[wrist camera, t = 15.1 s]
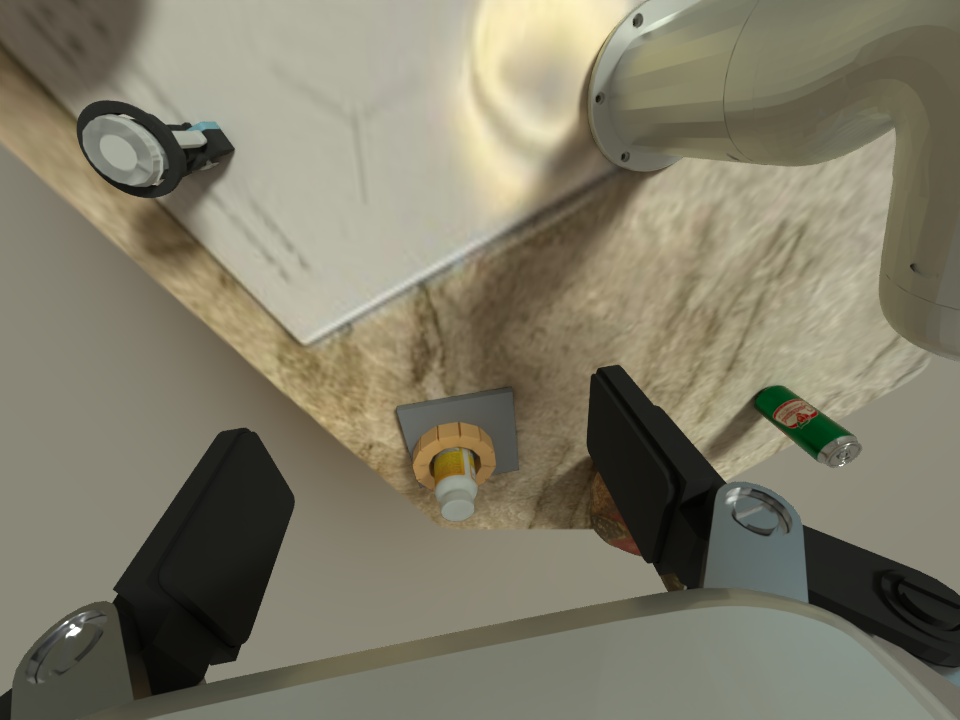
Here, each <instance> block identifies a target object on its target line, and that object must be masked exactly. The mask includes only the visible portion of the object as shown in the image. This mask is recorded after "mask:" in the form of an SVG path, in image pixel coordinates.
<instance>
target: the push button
mask: <svg viewBox="0 0 960 720" xmlns="http://www.w3.org/2000/svg"><path fill="white" fill-rule="evenodd" d="M121 114H125V115H128V116H131V117H133V118H135V119H127V118H125V117H121V116H118V115H121ZM77 137H78V141H79V144H80V147H81V150H82V152H83V154H84V156H85V157H86V159H87V160H88V162H89V163H90V165H91V166H92V167H93V168H94V170H95V171H96V172H97V173H98V174H99V175H100V176H101V177H102V178H103V179H105V180H106V181H107V182H108V183H110V184H111V185H113V186H114V187H116V188H117V189H119V190H121V191H123V192H125V193H128V194H130V195H134V196H137V197H143V198H156V197H160V196H164V195H166V194H168V193H170V192H171V191H173V190H174V189H175V188H176V187H177V185H178V183H179V182H180V180H181V179H182V177H184V176H186V175H188V174H190V173H192V171H194V170H198V169H200V170H206V169H210V168H212V167H214V166H215V165H217V164H219V162H214V163H211V162H210V160H209V159H211V158H213V157H217V156H221V155H225V154H228V153H230V152H231V151H233V150H234V149H235V148H234V147H233V146H232V144H231V143H230V142H229V140H228V139H227V137H226V136H225V135H224V133H223V132H222V131H221V129H220V128H219V127H218V125H217V124H216V122H200V123H198V124H196V125H194V126H193V127H192V126H191V124H190V123H183V124H182V125H165V124H164V123H163V122H162V121H160V120H159V119H158V118H157V117H155V116H154V115H152V114H148V113H146V112H144V111H142V110H141V109H139V108H137V107H135V106H132V105H130V104H127V103H124V102H119V101H109V100H106V101H98V102H94V103H92V104H90V105H88V106H87V107H86V108H85V109H84V110H83V111H82V112H81V114H80V116H79V118H78V122H77ZM161 179H165V180H164V181H163V182H162V183H161V184H160V185H158V186H156V185H152V184H154V183H156V182H157V181H158V180H161Z"/></svg>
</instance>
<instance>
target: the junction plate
mask: <svg viewBox="0 0 960 720" xmlns="http://www.w3.org/2000/svg"><path fill="white" fill-rule="evenodd" d="M397 414H398V417H399V420H400V423H401V427H402V430H403V433H404V437H405V440H406V443H407V446H408V450H409V453H410V456H411V460H412V463H413V451H414V449H415V447H416V444H417V442H418V440H419V438H421V436H422V435H423V434H425V433H426V432H428V431H429V430H431V429H432V428H434V427H435V426H436V427H438V425H442V424H448V423H454V422H458V425H459V423H460V422H462V423H467V424H471V425H475V426H478V428H479V427H480V428H481V429H482V430H483V431H484V432H485V433H486V434H487V435H489V436H490V437H491V439H492V443H493V448H494V452H495V460H496V468H495V469H494V471H493V472H492V474H491V475H494V474H499V473H505V472H510V471H516V470H519V465H518V453H517V440H516V427H515V414H514V401H513V391H512V388H511V387H508V388H502V389H496V390H490V391H484V392H478V393H472V394H466V395H460V396H454V397H448V398H442V399H437V400H431V401H425V402H419V403H413V404H407V405H401V406H397ZM472 452H473V459H474V461H475V459H476V458H477V456H478V455H477V454H476V453H475V452H474V451H473V450H472ZM431 462H432V463H433V464H434V456H433V458H432V460H431ZM418 483H419V486H420V488H422V487H425V486H424V485H422V484H421V483H420V482H418Z"/></svg>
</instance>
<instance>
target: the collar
mask: <svg viewBox="0 0 960 720" xmlns="http://www.w3.org/2000/svg"><path fill="white" fill-rule="evenodd" d="M453 447H463V448H467V449H472V450H473V451H474V452H475V453H476V454H477V455H478V456H477V458H476V459H475V461H474V465H475V473H476V480H477V487H478V486H479V485H481V484H483V483H484V482H486V479H487V480H488V479H489V477H490V476H491V474H492V472H493V471H494V469H495V468H496V460H495V452H494V448H493V443H492V439H491V437H490V436H489V435H487V434H486V433H485V432H484V431H483V430H482V429H481V428H480V427H479V428H478V426H475V425H471V424H467V423H462V422H460V423H459V425H458V422H454V423H448V424H442V425H438V427H436V426H435V427H434V428H432V429H431V430H429V431H428V432H426V433H425V434H423V435H422V436H421V438H419V440H418V442H417V444H416V447H415V449H414V451H413V469H414V472H415V476H416V479H417V480H418V482H420V483H421V484H422V485H424V486H425V487H427V488H428V489H429V490H431V489H432V491H435V472H434V464H433V463H432V462H431V460H432V458H433V456H434V455H436V454H437V453H439V452H441V451H442V450H444V449H448V448H453Z"/></svg>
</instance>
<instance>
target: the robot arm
mask: <svg viewBox="0 0 960 720" xmlns="http://www.w3.org/2000/svg"><path fill="white" fill-rule="evenodd" d="M633 20H634V21H635V26H633ZM596 96H598V97H599V100H598V102H596V100H595V98H596ZM587 107H588V120H589V124H590V128H591V132H592V135H593V137H594V140H595V142H596V144H597V146H598V147H599V149H600V150H601V151H602V153H603V154H604V155H605V157H607V158H608V159H609V160H610V161H611V162H613V163H614V164H616V165H618V166H620V167H622V168H624V169H628V170H632V171H642V172H647V171H654V170H659V169H662V168H664V167H667V166H670V165H671V164H673V163H675V162H677V161H678V160H680V159H682V158H683V157H689V158H700V159H710V160H720V161H730V162H740V163H751V164H761V165H775V166H807V165H814V164H819V163H822V162H826V161H829V160H832V159H836V158H838V157H841V156H844V155H846V154H848V153H851V152H853V151H855V150H857V149H859V148H861V147H863V146H864V145H866V144H868V143H870V142H872V141H874V140H876V139H877V138H879V137H881V136H882V135H884V134H885V133H887V132H889V131H890V130H892V129H893V128H895V132H896V146H895V155H894V163H893V171H892V175H893V183H892V190H891V197H890V203H889V210H888V216H887V223H886V230H885V236H884V243H883V250H882V256H881V268H880V275H879V300H880V305H881V308H882V311H883V314H884V316H885V318H886V319H887V321H888V322H889V324H890V325H891V327H892V328H893V329H894V330H895V331H896V332H897V333H898V334H900V335H901V336H902V337H903V338H905V339H906V340H908V341H909V342H911V343H912V344H914V345H916V346H918V347H920V348H922V349H924V350H927V351H929V352H931V353H934V354H936V355H939V356H942V357H945V358H948V359H951V360H954V361H958V362H960V0H647V1H645V2H643V3H642V4H640V5H639V6H637V7H636V8H634V9H633V10H632V11H630V12H629V13H628V14H627V15H626V16H625V17H624V18H623V19H622V20H621V21H620V22H619V23H618V24H617V26H616V27H615V28H614V30H613V31H612V32H611V34H610V35H609V36H608V38H607V40H606V41H605V43H604V45H603V47H602V49H601V50H600V52H599V55H598V57H597V60H596V62H595V65H594V68H593V70H592V75H591V79H590V84H589V89H588V102H587ZM622 154H623V158H622V159H621V156H622ZM587 448H588V452H589V454H590V456H591V458H592V460H593V462H594V464H595V466H596V468H597V470H598V472H599V474H600V476H601V478H602V479H603V481H604V483H605V485H606V487H607V489H608V491H609V493H610V495H611V497H612V499H613V501H614V503H615V505H616V507H617V509H618V511H619V512H620V514H621V516H622V518H623V520H624V522H625V524H626V526H627V528H628V530H629V532H630V534H631V536H632V538H633V540H634V542H635V544H636V545H637V547H638V549H639V551H640V553H641V555H642V557H643V559H644V560H645V561H646V562H647V563H653V565H654V567H655V568H656V571H657V572H658V574H659V576H661V575H666V574H671V573H675V574H676V576H677V578H678V580H679V581H680V583H681V584H683V585H685V586H684V590H681V591H673V592H665V593H658V594H652V595H647V596H641V597H635V598H630V599H624V600H618V601H613V602H608V603H602V604H596V605H590V606H586V607H580V608H575V609H570V610H565V611H560V612H555V613H550V614H545V615H540V616H535V617H530V618H524V619H519V620H514V621H509V622H504V623H499V624H495V625H489V626H484V627H479V628H474V629H469V630H464V631H459V632H455V633H449V634H444V635H440V636H435V637H429V638H424V639H420V640H414V641H410V642H405V643H400V644H395V645H390V646H385V647H381V648H376V649H370V650H365V651H360V652H356V653H350V654H346V655H341V656H337V657H331V658H326V659H321V660H317V661H312V662H307V663H302V664H297V665H293V666H288V667H283V668H278V669H274V670H269V671H264V672H259V673H254V674H249V675H245V676H240V677H235V678H230V679H226V680H221V681H216V682H212V683H208V684H207V683H206V680H205V678H204V676H205V673H206V671H207V668H208V666H209V664H210V665H217V664H222V663H227V662H232V661H236V658H237V656H238V653H239V650H240V647H241V645H242V644H244V643H245V642H246V641H247V640H248V638H249V636H250V634H251V631H252V628H253V625H254V622H255V619H256V616H257V613H258V610H259V607H260V605H261V602H262V599H263V596H264V593H265V590H266V587H267V584H268V581H269V578H270V576H271V573H272V570H273V567H274V564H275V561H276V558H277V555H278V552H279V549H280V546H281V543H282V541H283V538H284V535H285V532H286V529H287V526H288V523H289V520H290V517H291V515H292V512H293V508H294V503H295V500H294V495H293V493H292V492H291V490H290V488H289V486H288V485H287V483H286V481H285V480H284V478H283V476H282V475H281V473H280V471H279V470H278V468H277V466H276V465H275V463H274V461H273V460H272V458H271V456H270V455H269V453H268V451H267V450H266V448H265V446H264V445H263V443H262V441H261V440H260V438H259V436H258V435H257V433H255V432H251V431H250V430H249V429H247V428H239V429H234V430H227V431H222V432H220V433H219V434H218V435H217V436H216V438H215V439H214V441H213V443H212V444H211V445H210V447H209V448H208V450H207V451H206V453H205V454H204V456H203V457H202V459H201V460H200V462H199V463H198V465H197V466H196V467H195V469H194V471H193V472H192V473H191V475H190V476H189V478H188V479H187V481H186V482H185V484H184V485H183V487H182V488H181V490H180V491H179V492H178V494H177V495H176V497H175V498H174V500H173V501H172V503H171V504H170V506H169V507H168V509H167V510H166V512H165V513H164V515H163V516H162V518H161V519H160V521H159V522H158V524H157V525H156V526H155V528H154V529H153V531H152V532H151V534H150V535H149V537H148V538H147V540H146V541H145V543H144V544H143V546H142V547H141V549H140V550H139V552H138V553H137V554H136V556H135V558H134V559H133V560H132V562H131V563H130V565H129V566H128V568H127V569H126V571H125V572H124V574H123V575H122V577H121V578H120V580H119V581H118V582H117V584H116V586H115V587H114V589H113V590H114V591H116V592H117V593H118V595H117V596H116V598H115V600H114V601H113V603H110V602H107V601H101V602H94V603H91V604H89V605H86V606H83V607H81V608H79V609H77V610H75V611H74V612H72V613H70V614H68V615H67V616H65V617H64V618H62V619H61V620H60V621H58V622H57V623H56V624H54V625H53V626H52V627H51V628H50V629H48V630H47V631H46V632H45V633H44V634H43V635H42V636H41V637H40V638H39V639H38V640H37V641H36V642H35V643H34V644H33V646H32V647H31V648H30V649H29V650H28V652H27V653H26V654H25V655H24V657H23V659H22V660H21V662H20V664H19V666H18V667H17V669H16V672H15V675H14V679H13V685H12V688H11V689H10V690H9V691H8V692H6V693H5V694H3V695H2V696H1V697H0V720H960V596H959V595H958V594H957V593H956V592H955V591H954V590H952V589H950V588H949V587H947V586H946V585H944V584H943V583H941V582H940V581H938V580H937V579H934V578H933V577H930V576H928V575H926V574H924V573H922V572H920V571H918V570H915V569H913V568H910V567H908V566H905V565H903V564H900V563H898V562H895V561H893V560H890V559H888V558H885V557H882V556H880V555H877V554H875V553H872V552H870V551H868V550H865V549H862V548H860V547H857V546H855V545H852V544H850V543H847V542H845V541H842V540H840V539H837V538H835V537H832V536H830V535H827V534H825V533H822V532H820V531H817V530H815V529H812V528H809V527H807V526H804V525H802V522H801V519H800V516H799V515H798V513H797V512H796V510H795V509H794V507H793V506H792V505H791V504H790V503H789V502H787V501H786V500H785V499H784V498H783V497H782V496H780V495H778V494H777V493H775V492H774V491H772V490H770V489H768V488H765V487H763V486H760V485H758V484H753V483H749V482H731V483H728V484H727V483H726V482H725V481H724V480H723V479H722V478H721V476H720V475H719V474H718V473H717V472H716V471H715V469H714V468H713V467H712V466H711V465H710V464H709V462H708V461H707V460H706V459H705V458H704V457H703V455H702V454H701V453H700V452H699V451H698V450H697V449H696V447H695V446H694V445H693V444H692V443H691V442H690V440H689V439H688V438H687V437H686V436H685V435H684V433H683V432H682V431H681V430H680V429H679V428H678V426H677V425H676V424H675V423H674V422H673V421H672V420H671V418H670V417H669V416H668V415H667V414H666V413H665V411H664V410H663V409H661V408H660V407H659V406H656V405H655V406H654V405H653V404H652V402H651V401H650V400H649V399H648V398H647V397H646V395H645V394H644V393H643V392H642V391H641V389H640V388H639V387H638V386H637V385H636V383H635V382H634V381H633V380H632V379H631V378H630V376H629V375H628V374H627V373H626V372H625V370H624V369H623V368H622V367H621V366H620V365H613V366H607V367H601V368H598V369H597V372H596V374H592V376H591V382H590V397H589V413H588V428H587Z"/></svg>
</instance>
